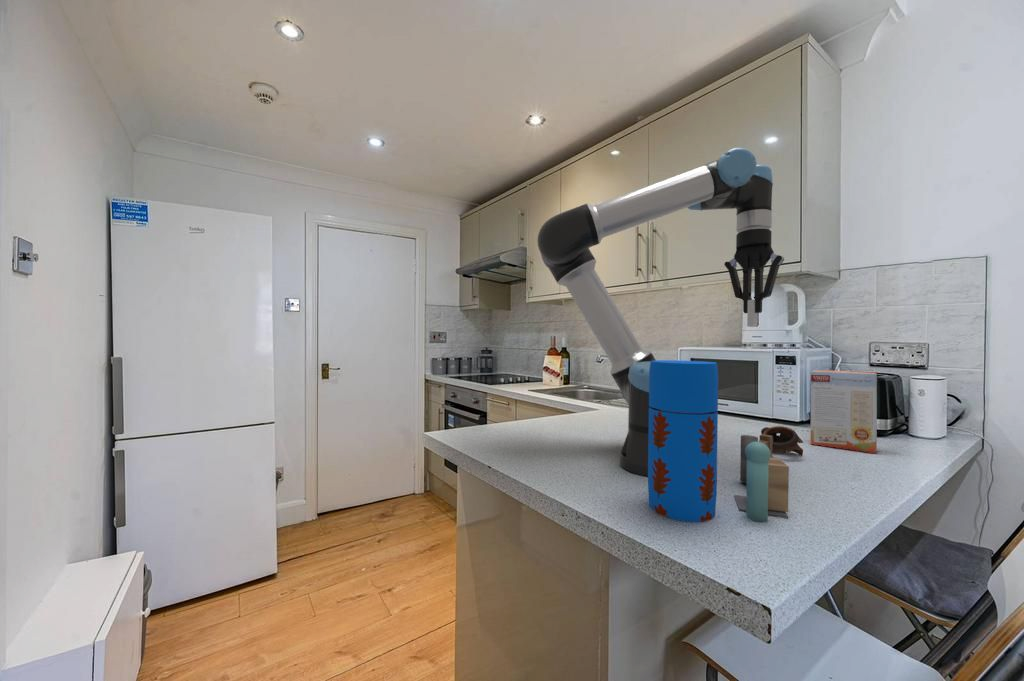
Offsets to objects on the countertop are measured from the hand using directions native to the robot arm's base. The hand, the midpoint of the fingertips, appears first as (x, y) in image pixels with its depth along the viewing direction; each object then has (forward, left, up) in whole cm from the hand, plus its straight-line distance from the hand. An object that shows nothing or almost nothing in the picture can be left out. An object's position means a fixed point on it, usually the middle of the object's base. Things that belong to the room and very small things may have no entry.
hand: (752, 326), depth 102 cm
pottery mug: (+4, +8, -33) cm, 34 cm away
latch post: (+12, -38, -32) cm, 52 cm away
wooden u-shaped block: (+9, -28, -32) cm, 43 cm away
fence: (+6, -15, -32) cm, 36 cm away
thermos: (+2, -44, -33) cm, 55 cm away
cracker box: (+14, +30, -33) cm, 46 cm away
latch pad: (+11, -33, -32) cm, 48 cm away
